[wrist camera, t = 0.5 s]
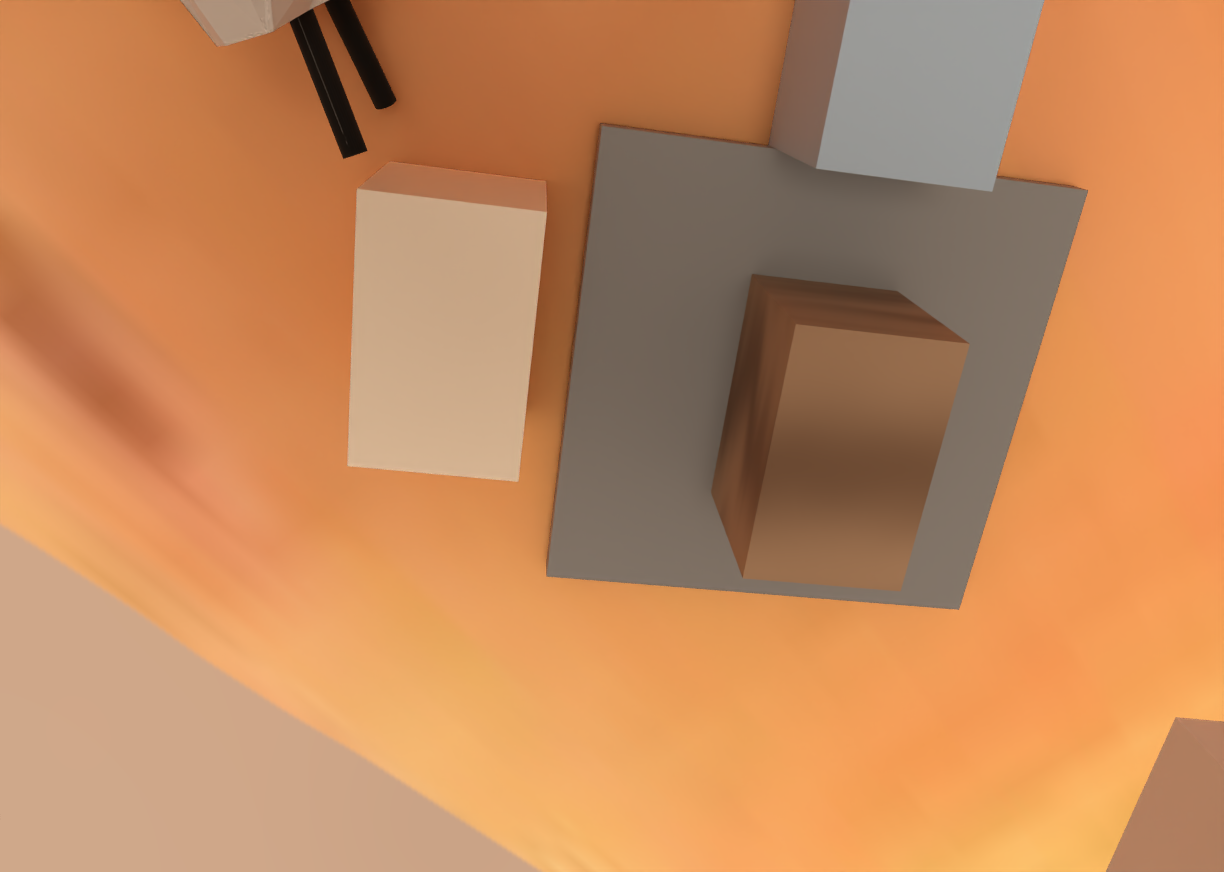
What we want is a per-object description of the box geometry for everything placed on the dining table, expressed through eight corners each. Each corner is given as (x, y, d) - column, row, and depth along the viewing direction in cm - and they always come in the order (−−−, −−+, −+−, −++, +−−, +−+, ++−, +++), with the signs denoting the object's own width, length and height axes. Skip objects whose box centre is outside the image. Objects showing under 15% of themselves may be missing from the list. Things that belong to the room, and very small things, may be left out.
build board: (600, 122, 31) (601, 125, 30) (1072, 186, 33) (1087, 190, 32) (546, 562, 37) (546, 576, 36) (949, 595, 39) (958, 609, 38)
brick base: (752, 273, 32) (795, 324, 27) (897, 290, 33) (969, 343, 27) (710, 492, 35) (742, 578, 30) (844, 504, 36) (900, 591, 30)
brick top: (819, -136, 29) (885, -176, 23) (980, -109, 29) (1082, -142, 24) (767, 144, 32) (816, 168, 26) (914, 164, 32) (992, 191, 27)
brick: (389, 160, 31) (356, 188, 26) (546, 180, 32) (546, 212, 26) (379, 395, 34) (347, 466, 29) (522, 409, 35) (518, 481, 29)
